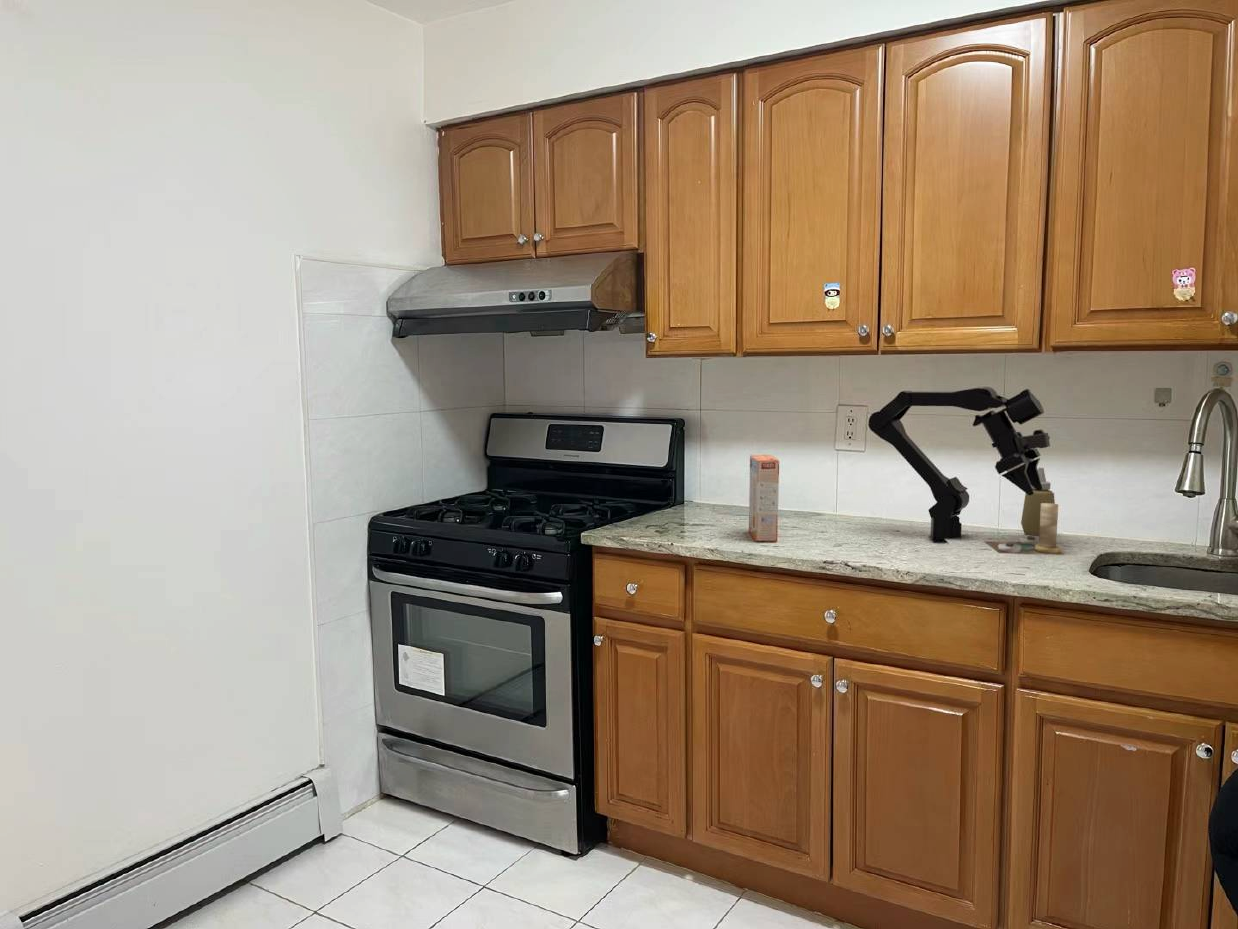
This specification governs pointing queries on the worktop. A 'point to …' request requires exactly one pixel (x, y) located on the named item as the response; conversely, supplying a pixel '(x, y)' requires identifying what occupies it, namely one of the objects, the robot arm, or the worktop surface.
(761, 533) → the cracker box
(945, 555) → the worktop surface
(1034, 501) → the squeeze bottle
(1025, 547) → the gear board
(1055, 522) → the gear spindle
